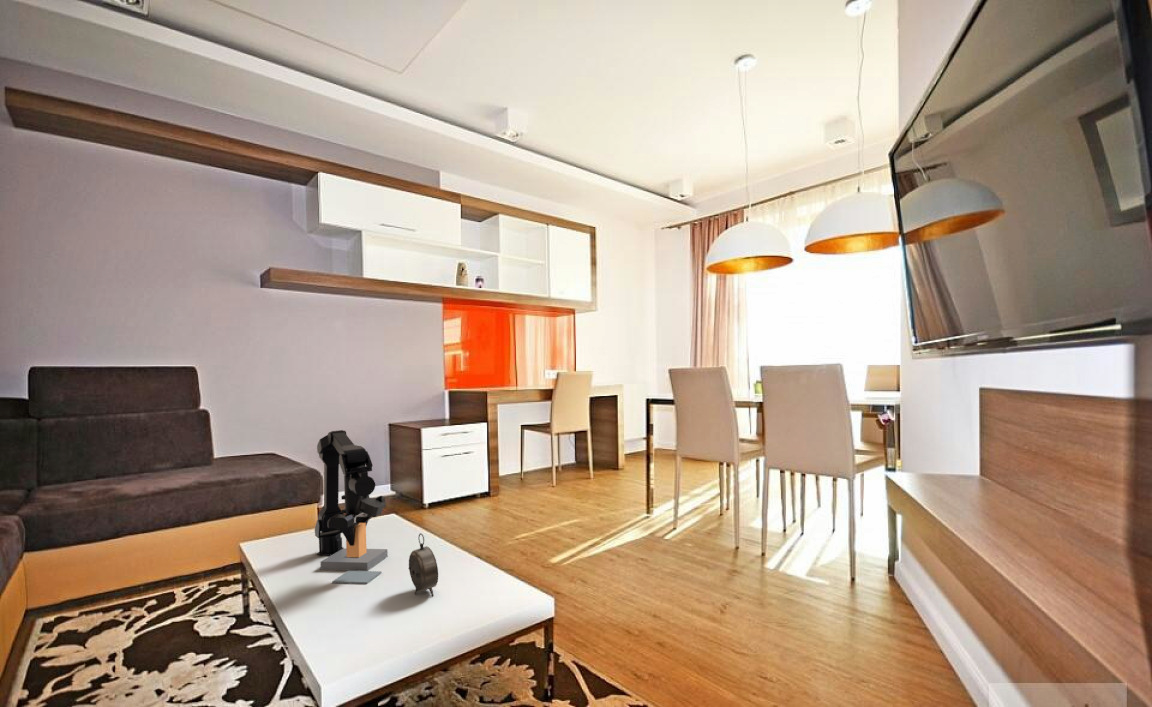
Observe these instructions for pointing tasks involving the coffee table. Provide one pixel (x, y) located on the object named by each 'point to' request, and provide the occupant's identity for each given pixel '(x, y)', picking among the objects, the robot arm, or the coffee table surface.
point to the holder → (354, 560)
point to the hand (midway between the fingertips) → (356, 543)
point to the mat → (357, 577)
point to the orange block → (358, 542)
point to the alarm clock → (423, 568)
